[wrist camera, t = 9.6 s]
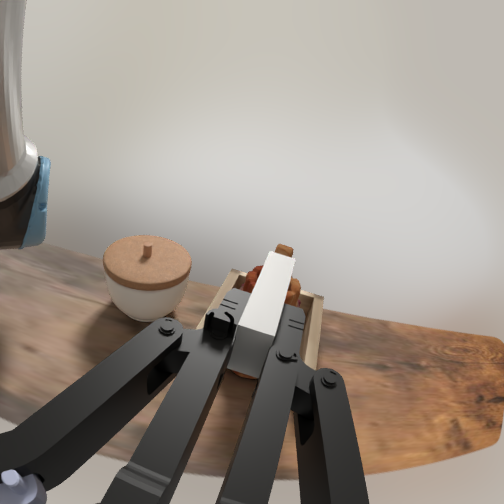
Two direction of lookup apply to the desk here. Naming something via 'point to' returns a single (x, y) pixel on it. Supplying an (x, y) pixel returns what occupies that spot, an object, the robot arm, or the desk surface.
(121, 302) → the lidded bowl
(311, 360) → the wooden u-shaped frame
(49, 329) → the desk surface
